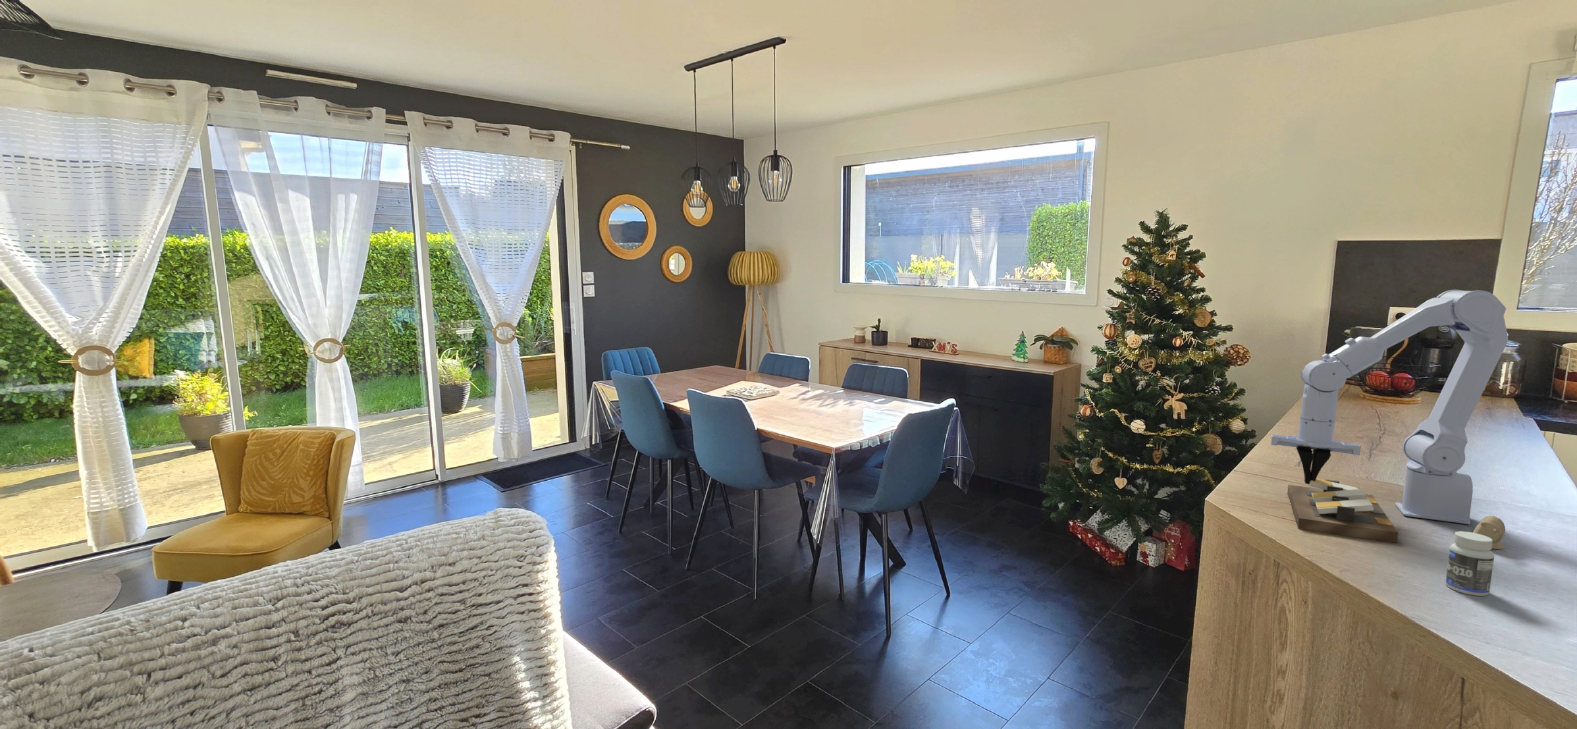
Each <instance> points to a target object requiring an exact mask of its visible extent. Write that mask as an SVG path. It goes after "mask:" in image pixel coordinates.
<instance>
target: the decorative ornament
mask: <svg viewBox="0 0 1577 729" xmlns="http://www.w3.org/2000/svg"><path fill="white" fill-rule="evenodd" d="M1472 533H1477V534H1480V535H1484V536H1487V537H1489V538H1491V539H1492V540H1493V542H1492V549H1494V550H1504V548H1505V545H1504V544H1503V543H1502V542H1501V540H1502V539H1503V537H1504V536H1505V533H1506V525H1505V523H1504V521H1503V520H1502V519H1501V518H1499V517H1497V516H1495V515H1487V516H1485V517H1484V518H1482V519H1481V520H1480V521H1479V523H1478V524H1477V525H1476V526H1475V528H1474V530H1473V532H1472Z"/></svg>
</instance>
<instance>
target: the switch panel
mask: <svg viewBox="0 0 1577 729" xmlns="http://www.w3.org/2000/svg"><path fill="white" fill-rule="evenodd" d="M1325 480H1326V481H1330V482H1334V483H1339V484H1340V481H1338V480H1330V479H1325ZM1342 490H1343V488H1340V487H1331V486H1328V487H1327V490H1324V489H1320V488H1316V487H1311V486H1309V487H1308V486H1300V485H1293V484H1288V485H1287V494H1286V495H1287V496H1288V500H1290V501H1289V503H1291V504H1290V506H1291V510H1292V513H1293V517H1294V520H1295V523H1296V527H1297V529H1301V530H1308V531H1314V532H1320V533H1327V534H1335V535H1341V536H1347V537H1348V536H1349V537H1353V538H1361V539H1367V540H1373V541H1380V542H1386V543H1393V544H1397V542H1398V536H1399V535H1398V534H1399V533H1398V530H1397V529H1396V527H1395V526H1394V525H1393V523H1392V521H1391V520H1390V518H1389V517H1388V516H1387V514H1386V513H1385V512H1384V509H1382V507H1381V506H1380V504H1379V503H1378V502H1377V500H1376V498H1375V497H1374V495H1373V494H1367V493H1365V494H1366V498H1367V499H1369V500H1370V502H1371V504H1372V505H1373V509H1374V510H1371V511H1356V512H1355V508H1351V507H1343V506H1338V507H1337V513H1325V514H1319V512H1318V510H1317V507H1316V503H1314V500H1313V498H1312V494H1311V493H1317V492H1330V491H1342ZM1346 500H1349V498H1348V497H1341V496H1333V495H1332V501H1346Z"/></svg>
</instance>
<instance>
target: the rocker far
mask: <svg viewBox="0 0 1577 729" xmlns="http://www.w3.org/2000/svg"><path fill="white" fill-rule="evenodd" d="M1326 480H1327V479H1321V478H1316V480H1315V481H1312V480H1310V484H1308V485H1309V487H1311V488H1318V489H1324V490H1327V487H1328V486H1331V487H1340V488H1343V490H1355V489H1359V488H1358V487H1356V486H1352V485H1347V484H1343V483H1340V482H1339V483H1334V482H1330V481H1326Z"/></svg>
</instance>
